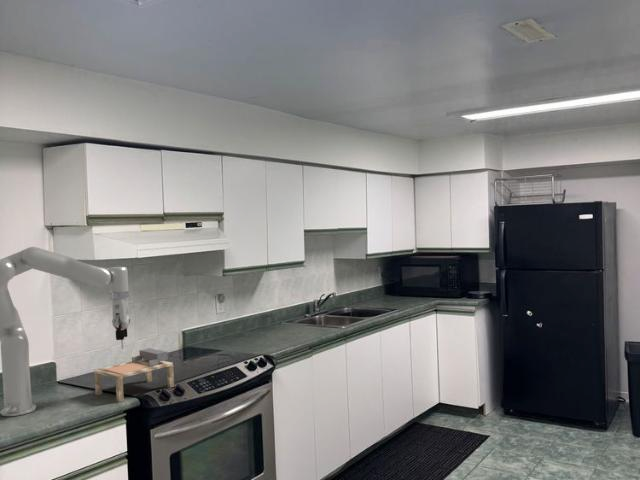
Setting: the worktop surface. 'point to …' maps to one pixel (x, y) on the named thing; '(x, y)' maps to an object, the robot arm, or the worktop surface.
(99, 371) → the trapdoor frame
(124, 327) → the lollipop
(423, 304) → the worktop surface
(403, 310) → the worktop surface
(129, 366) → the trapdoor
